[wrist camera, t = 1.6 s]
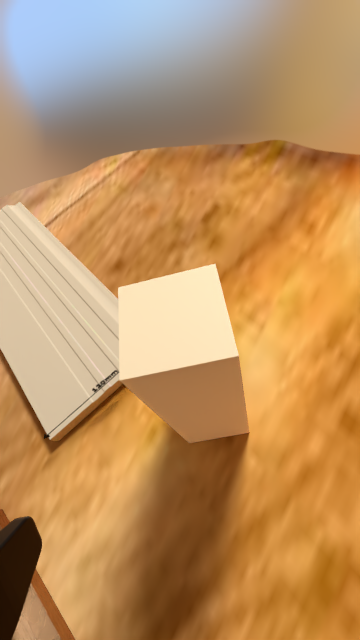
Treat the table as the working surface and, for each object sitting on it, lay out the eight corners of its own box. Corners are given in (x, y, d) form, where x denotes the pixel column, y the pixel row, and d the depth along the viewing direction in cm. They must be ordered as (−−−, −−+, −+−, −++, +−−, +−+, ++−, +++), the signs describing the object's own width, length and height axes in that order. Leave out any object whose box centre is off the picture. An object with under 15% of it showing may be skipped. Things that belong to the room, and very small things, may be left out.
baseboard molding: (33, 201, 41) (-45, 255, 39) (19, 182, 39) (-65, 238, 36) (180, 338, 25) (62, 444, 23) (171, 320, 23) (38, 437, 20)
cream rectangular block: (249, 432, 20) (238, 355, 10) (189, 443, 20) (119, 380, 10) (235, 375, 22) (215, 263, 12) (181, 385, 22) (118, 287, 12)
